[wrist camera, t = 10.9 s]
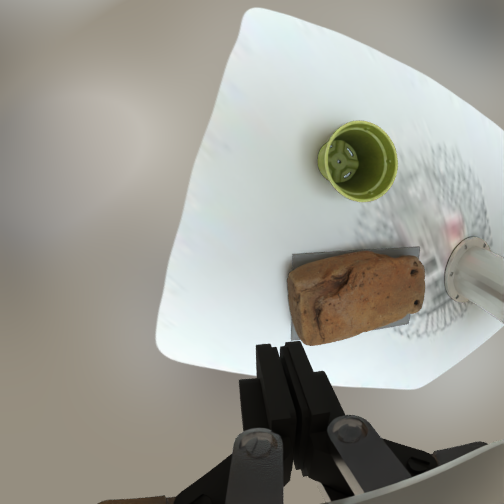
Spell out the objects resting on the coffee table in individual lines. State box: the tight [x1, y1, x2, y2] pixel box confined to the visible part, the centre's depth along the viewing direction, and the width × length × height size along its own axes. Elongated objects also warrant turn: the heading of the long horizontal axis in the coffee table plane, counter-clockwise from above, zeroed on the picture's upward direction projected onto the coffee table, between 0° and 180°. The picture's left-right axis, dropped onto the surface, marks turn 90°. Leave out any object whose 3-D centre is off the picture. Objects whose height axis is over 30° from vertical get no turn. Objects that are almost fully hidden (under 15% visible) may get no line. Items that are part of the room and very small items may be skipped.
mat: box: [291, 247, 420, 341], centre depth 47 cm, size 22×14×1 cm, turn 92°
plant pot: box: [318, 121, 398, 202], centre depth 37 cm, size 9×9×9 cm
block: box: [287, 251, 425, 346], centre depth 42 cm, size 11×8×20 cm
